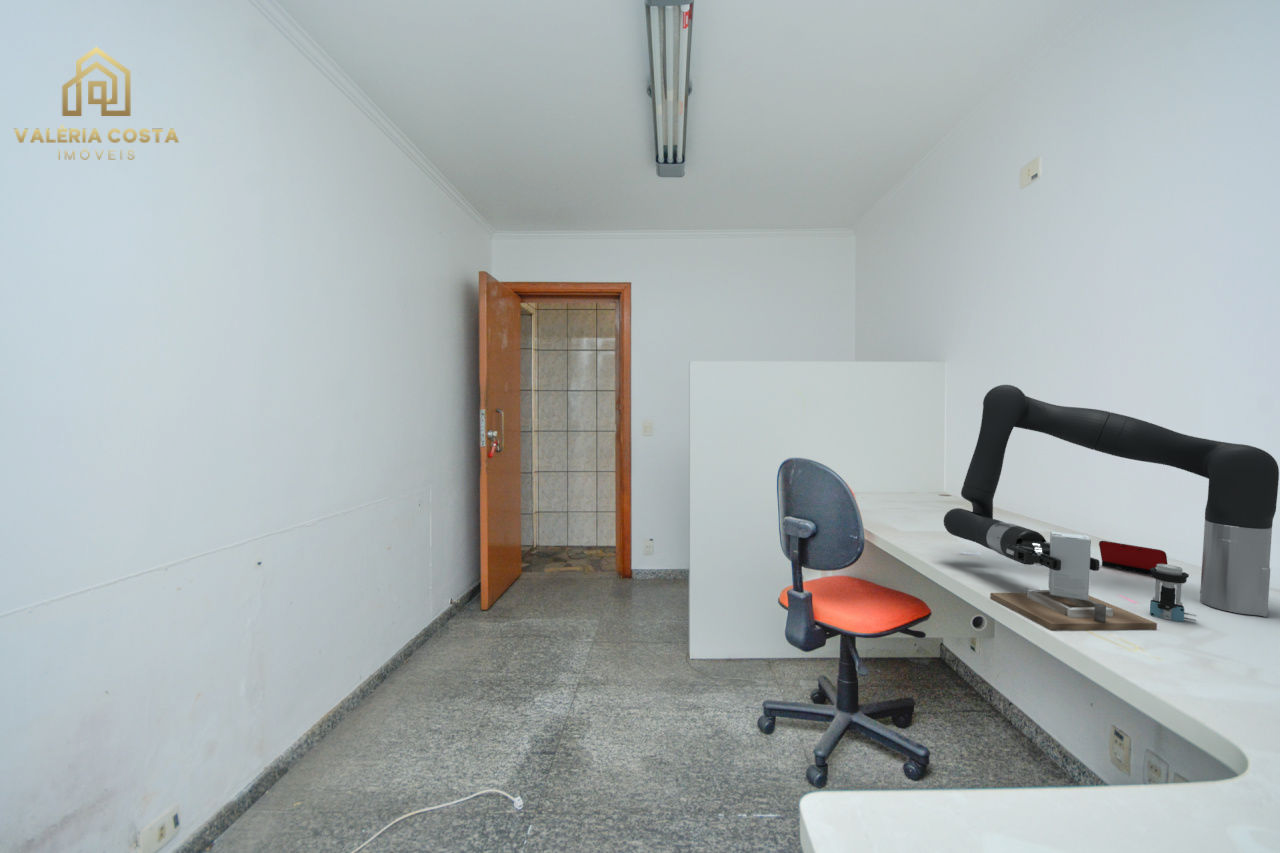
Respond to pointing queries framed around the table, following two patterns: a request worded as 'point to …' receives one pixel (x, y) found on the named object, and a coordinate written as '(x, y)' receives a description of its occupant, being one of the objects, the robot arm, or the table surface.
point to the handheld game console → (1131, 557)
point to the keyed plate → (1071, 612)
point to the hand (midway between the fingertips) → (1078, 565)
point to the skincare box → (1070, 565)
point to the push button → (1168, 593)
